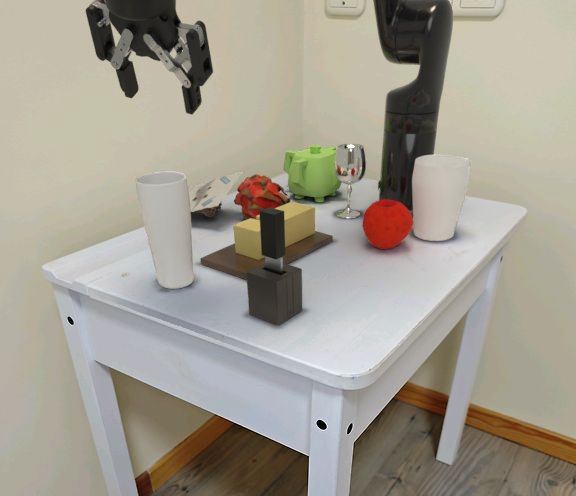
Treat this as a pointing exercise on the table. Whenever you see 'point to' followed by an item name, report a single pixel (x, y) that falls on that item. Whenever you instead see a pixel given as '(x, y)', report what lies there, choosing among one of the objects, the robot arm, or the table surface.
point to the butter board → (241, 264)
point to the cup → (438, 194)
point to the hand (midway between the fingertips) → (162, 102)
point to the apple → (386, 223)
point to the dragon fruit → (259, 195)
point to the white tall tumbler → (167, 225)
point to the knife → (272, 239)
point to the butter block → (297, 221)
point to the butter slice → (248, 238)
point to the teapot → (312, 172)
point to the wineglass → (349, 171)
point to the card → (210, 194)
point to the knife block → (274, 293)
